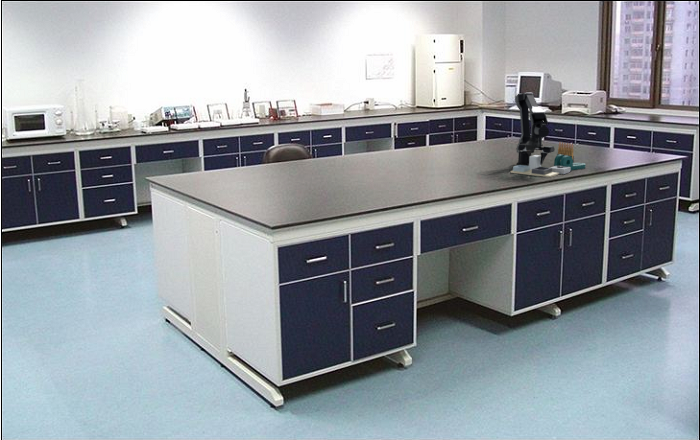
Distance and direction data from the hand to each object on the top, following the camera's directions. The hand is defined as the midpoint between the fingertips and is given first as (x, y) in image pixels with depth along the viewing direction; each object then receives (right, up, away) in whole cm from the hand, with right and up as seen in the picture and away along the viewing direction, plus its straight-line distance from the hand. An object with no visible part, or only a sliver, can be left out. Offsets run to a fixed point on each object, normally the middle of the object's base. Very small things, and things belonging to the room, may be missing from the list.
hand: (535, 164), depth 384 cm
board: (-4, -6, -13) cm, 15 cm away
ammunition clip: (+21, +1, +16) cm, 26 cm away
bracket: (+19, -3, 0) cm, 20 cm away
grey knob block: (+10, -5, -10) cm, 15 cm away
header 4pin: (-1, -6, -15) cm, 17 cm away
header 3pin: (-9, -5, -8) cm, 13 cm away
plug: (0, -3, +1) cm, 3 cm away
